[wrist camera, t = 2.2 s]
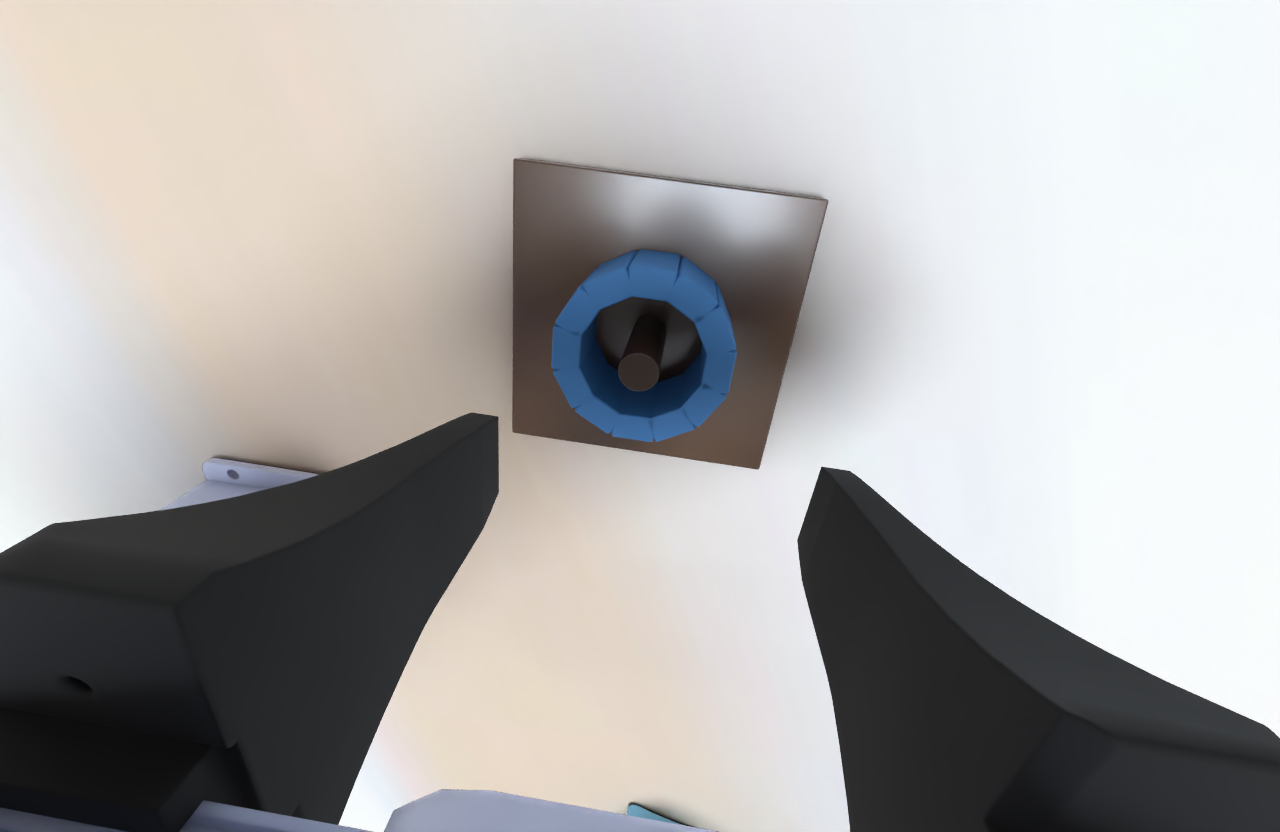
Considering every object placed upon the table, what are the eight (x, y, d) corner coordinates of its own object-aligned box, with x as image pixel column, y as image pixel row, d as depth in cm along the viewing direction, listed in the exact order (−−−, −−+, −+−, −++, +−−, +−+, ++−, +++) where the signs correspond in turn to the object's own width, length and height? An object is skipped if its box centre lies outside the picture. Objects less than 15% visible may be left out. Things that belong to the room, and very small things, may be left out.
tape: (568, 391, 20) (548, 427, 17) (577, 239, 18) (555, 254, 15) (713, 412, 20) (716, 452, 17) (743, 262, 17) (752, 281, 15)
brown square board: (517, 423, 22) (474, 489, 18) (520, 158, 17) (462, 158, 13) (757, 459, 21) (771, 535, 17) (823, 198, 17) (866, 212, 13)
